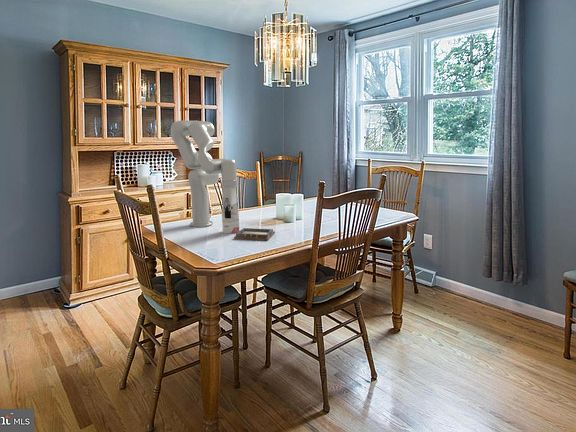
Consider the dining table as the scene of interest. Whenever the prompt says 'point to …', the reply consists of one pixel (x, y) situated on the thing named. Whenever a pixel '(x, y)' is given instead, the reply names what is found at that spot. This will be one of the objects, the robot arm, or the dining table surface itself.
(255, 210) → the dining table surface
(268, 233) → the dock
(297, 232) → the dining table surface
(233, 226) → the ink cartridge box
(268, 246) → the dining table surface
